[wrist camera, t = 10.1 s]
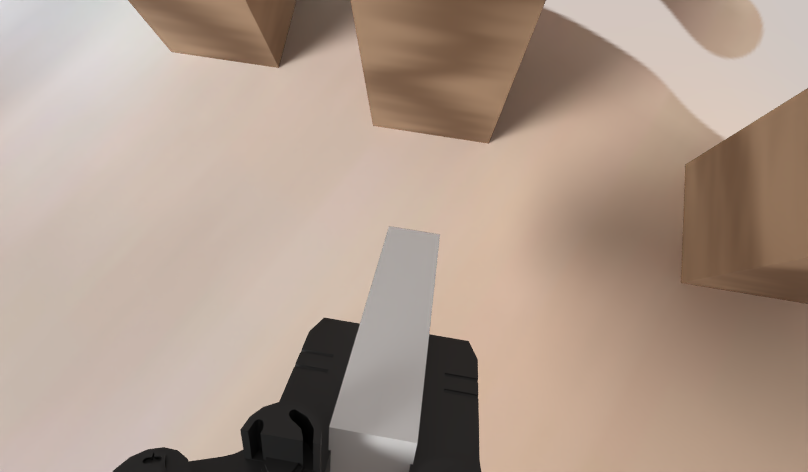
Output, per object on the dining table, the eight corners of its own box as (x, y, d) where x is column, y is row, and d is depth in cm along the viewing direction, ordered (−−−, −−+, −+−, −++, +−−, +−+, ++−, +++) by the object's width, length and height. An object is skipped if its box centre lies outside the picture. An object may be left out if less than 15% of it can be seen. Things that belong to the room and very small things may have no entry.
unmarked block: (373, 125, 23) (345, -31, 13) (393, 26, 24) (381, -184, 14) (488, 143, 23) (547, -3, 13) (502, 41, 24) (566, -162, 14)
